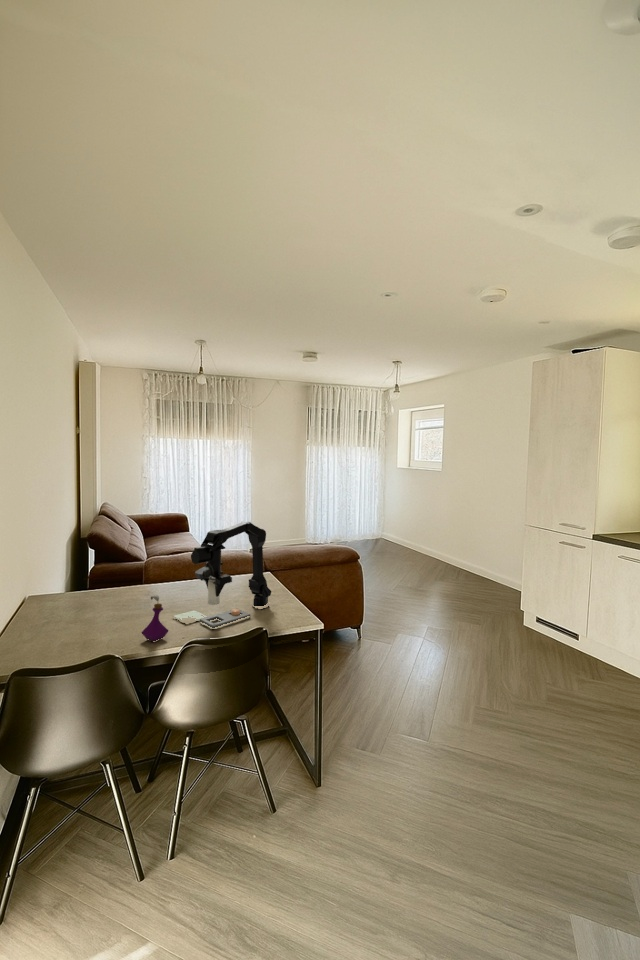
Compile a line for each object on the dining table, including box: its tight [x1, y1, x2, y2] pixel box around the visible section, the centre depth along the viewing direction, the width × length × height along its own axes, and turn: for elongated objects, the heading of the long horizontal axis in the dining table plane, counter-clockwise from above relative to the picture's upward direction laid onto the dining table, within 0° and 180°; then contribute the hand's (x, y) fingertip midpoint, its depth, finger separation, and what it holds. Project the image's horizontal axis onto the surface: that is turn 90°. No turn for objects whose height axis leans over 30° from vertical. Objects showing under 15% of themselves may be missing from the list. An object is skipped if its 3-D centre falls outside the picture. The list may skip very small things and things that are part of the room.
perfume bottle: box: [141, 594, 169, 642], centre depth 180 cm, size 8×8×18 cm
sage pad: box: [172, 610, 208, 620], centre depth 203 cm, size 11×11×1 cm
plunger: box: [230, 608, 241, 616], centre depth 206 cm, size 4×4×3 cm
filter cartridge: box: [207, 577, 221, 606], centre depth 197 cm, size 5×5×11 cm
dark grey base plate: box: [199, 608, 251, 628], centre depth 202 cm, size 20×10×2 cm, turn 137°
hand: (213, 594), depth 197 cm, fingers closed on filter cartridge, 5 cm apart
